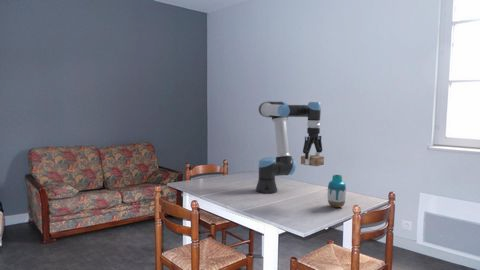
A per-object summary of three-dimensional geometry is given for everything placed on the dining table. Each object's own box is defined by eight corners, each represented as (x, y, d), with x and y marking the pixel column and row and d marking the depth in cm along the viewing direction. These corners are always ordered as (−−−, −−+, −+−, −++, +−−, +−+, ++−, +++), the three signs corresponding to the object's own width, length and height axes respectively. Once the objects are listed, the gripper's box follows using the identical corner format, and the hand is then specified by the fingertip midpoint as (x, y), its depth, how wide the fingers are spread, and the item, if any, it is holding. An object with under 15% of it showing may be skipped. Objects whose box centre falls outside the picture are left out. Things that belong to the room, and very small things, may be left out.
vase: (347, 206, 220) (348, 175, 218) (342, 210, 210) (343, 177, 209) (330, 203, 225) (331, 173, 223) (324, 207, 216) (325, 175, 214)
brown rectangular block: (300, 164, 222) (301, 156, 222) (307, 162, 229) (308, 154, 229) (317, 166, 215) (317, 158, 215) (323, 164, 222) (324, 156, 222)
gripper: (307, 128, 210) (306, 166, 212) (329, 127, 225) (327, 162, 227) (297, 127, 215) (296, 164, 217) (319, 126, 230) (317, 161, 232)
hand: (312, 163), depth 222 cm, fingers closed on brown rectangular block, 9 cm apart
